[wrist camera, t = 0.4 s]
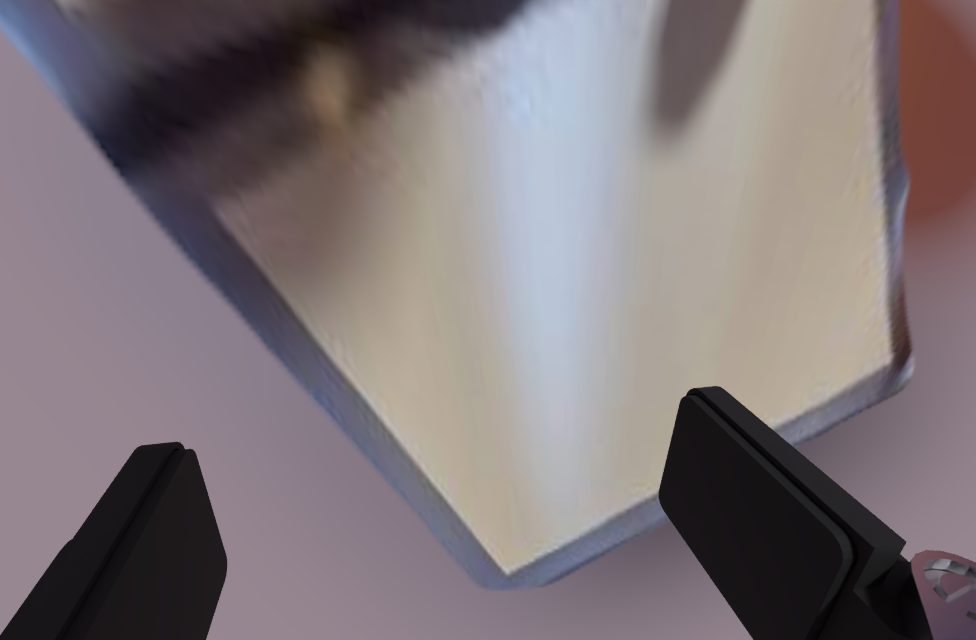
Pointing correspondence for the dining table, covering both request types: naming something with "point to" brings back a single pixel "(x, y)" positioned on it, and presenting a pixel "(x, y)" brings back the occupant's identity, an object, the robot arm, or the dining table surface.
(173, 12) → the dining table surface
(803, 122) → the dining table surface
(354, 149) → the dining table surface
